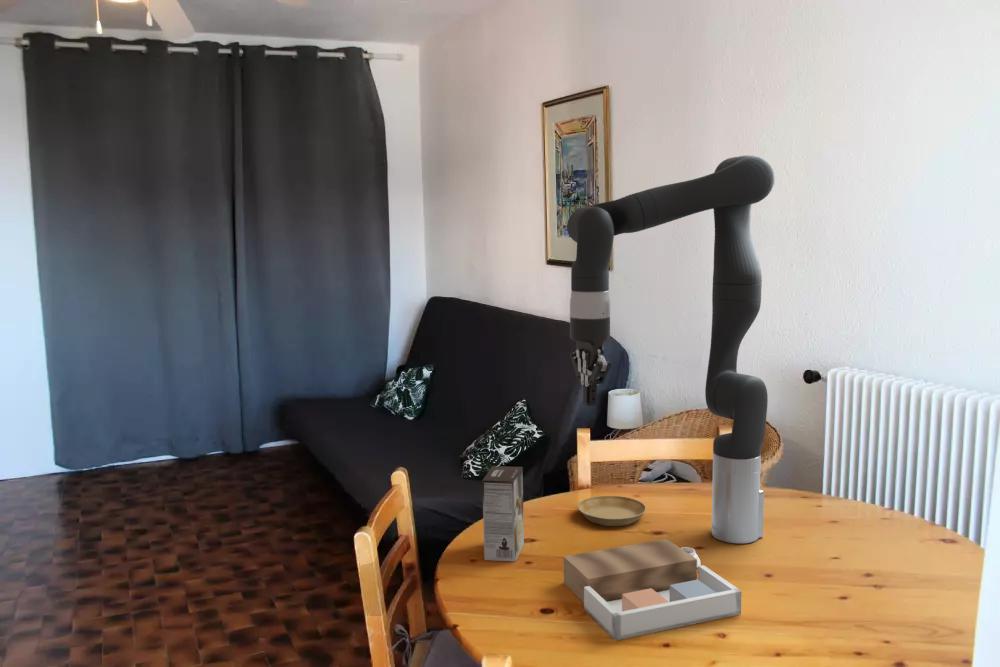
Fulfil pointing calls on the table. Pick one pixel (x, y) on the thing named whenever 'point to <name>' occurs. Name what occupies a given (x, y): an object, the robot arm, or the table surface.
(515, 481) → the coffee box
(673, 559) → the brown wooden slab
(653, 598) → the tile terracotta
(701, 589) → the blue grey flat block
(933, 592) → the table surface
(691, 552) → the white jar
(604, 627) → the box
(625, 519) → the plant saucer
